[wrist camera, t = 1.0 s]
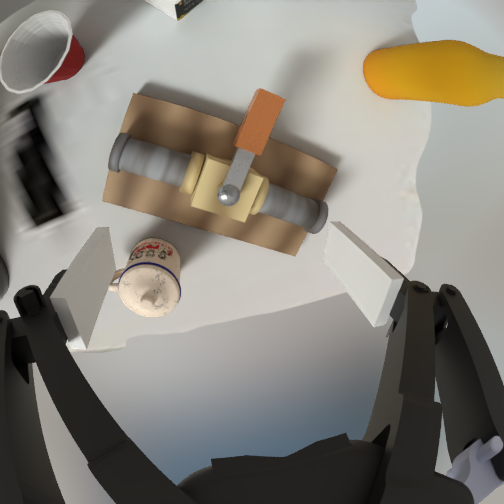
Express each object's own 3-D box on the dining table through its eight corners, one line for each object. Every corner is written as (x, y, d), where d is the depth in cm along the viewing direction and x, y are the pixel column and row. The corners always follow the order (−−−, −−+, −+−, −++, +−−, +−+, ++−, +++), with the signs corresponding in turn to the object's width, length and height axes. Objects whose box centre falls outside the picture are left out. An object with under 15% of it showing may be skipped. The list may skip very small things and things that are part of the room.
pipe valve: (106, 197, 37) (86, 218, 29) (136, 94, 31) (120, 88, 23) (291, 250, 48) (310, 279, 40) (331, 167, 42) (361, 180, 34)
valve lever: (235, 205, 33) (237, 211, 31) (211, 198, 32) (212, 203, 30) (280, 100, 28) (285, 99, 26) (256, 89, 27) (260, 88, 25)
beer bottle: (356, 48, 32) (510, 29, 7) (397, 52, 33) (538, 52, 8) (365, 99, 37) (524, 122, 12) (405, 99, 38) (546, 126, 13)
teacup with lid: (178, 233, 42) (175, 272, 32) (185, 281, 46) (185, 327, 36) (108, 240, 40) (86, 280, 30) (120, 286, 44) (106, 332, 34)
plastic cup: (88, 98, 29) (50, 95, 19) (34, 94, 26) (-11, 94, 15) (112, 32, 25) (84, 6, 15) (55, 31, 21) (17, 13, 11)
